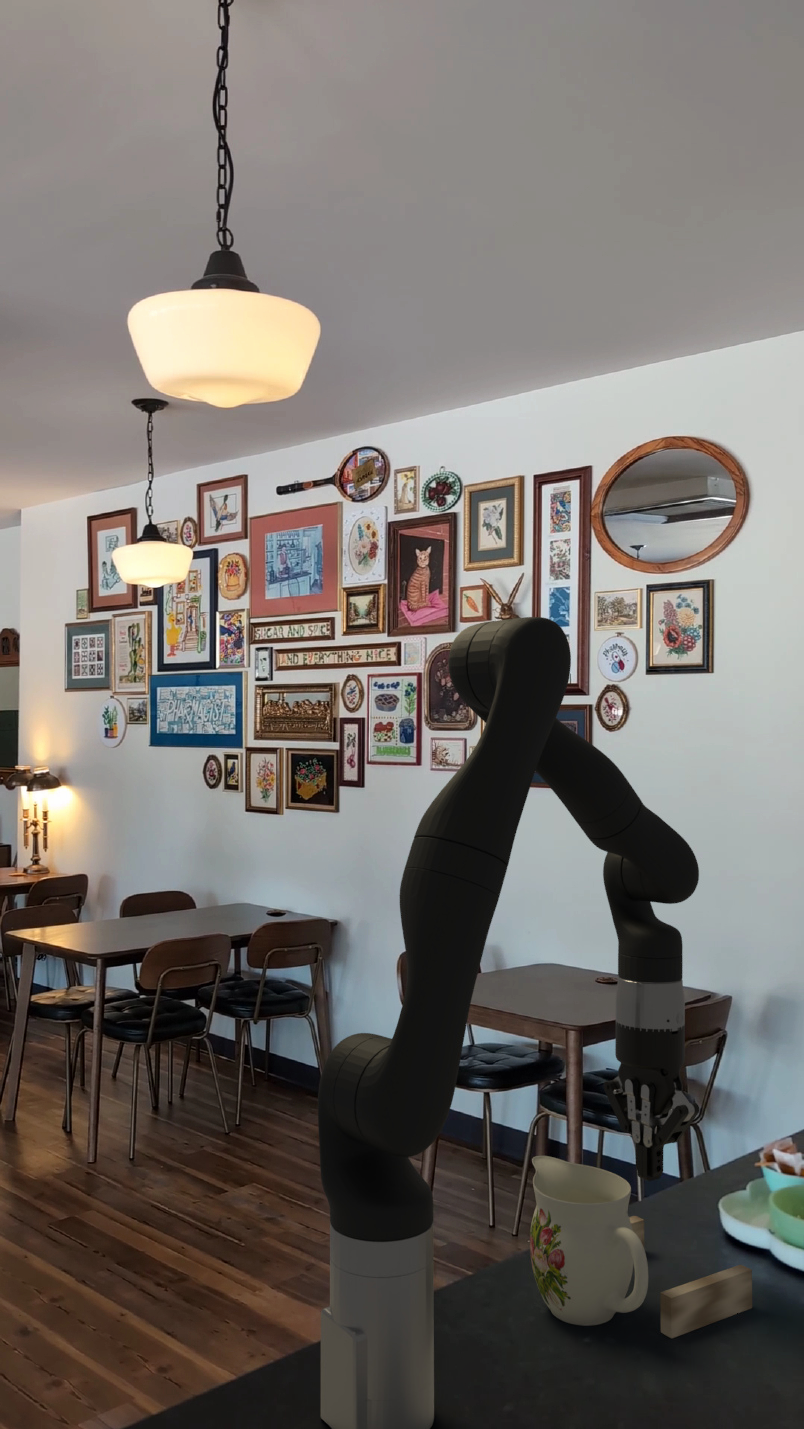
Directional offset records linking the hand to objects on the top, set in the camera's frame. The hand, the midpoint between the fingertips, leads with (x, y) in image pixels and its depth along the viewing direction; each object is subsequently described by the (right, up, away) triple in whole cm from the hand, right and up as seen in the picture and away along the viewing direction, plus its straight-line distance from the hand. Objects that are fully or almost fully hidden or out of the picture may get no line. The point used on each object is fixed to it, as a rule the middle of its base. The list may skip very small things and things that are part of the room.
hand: (649, 1177), depth 128 cm
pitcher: (-8, -12, -6) cm, 16 cm away
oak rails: (0, -12, 0) cm, 12 cm away
